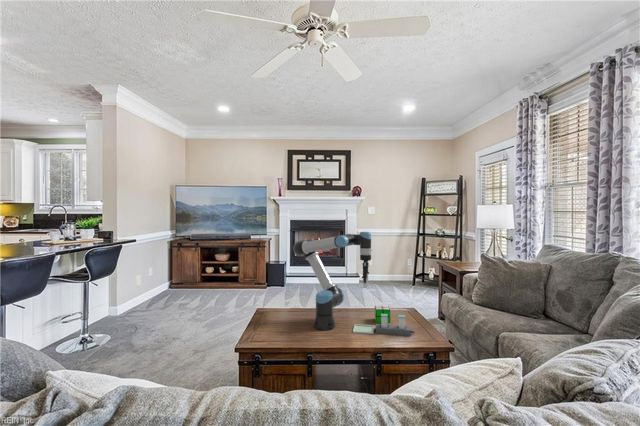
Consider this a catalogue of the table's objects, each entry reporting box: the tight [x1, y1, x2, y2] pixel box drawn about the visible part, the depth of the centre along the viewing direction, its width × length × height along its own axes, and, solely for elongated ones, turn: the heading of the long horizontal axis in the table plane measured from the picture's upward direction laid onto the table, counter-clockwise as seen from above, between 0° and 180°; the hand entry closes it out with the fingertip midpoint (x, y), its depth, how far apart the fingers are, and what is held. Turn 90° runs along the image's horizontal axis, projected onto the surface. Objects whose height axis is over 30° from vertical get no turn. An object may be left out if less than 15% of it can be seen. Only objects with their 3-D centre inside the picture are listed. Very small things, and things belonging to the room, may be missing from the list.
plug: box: [380, 314, 389, 328], centre depth 196 cm, size 4×4×11 cm
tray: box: [352, 323, 375, 335], centre depth 199 cm, size 13×13×1 cm
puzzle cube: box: [374, 304, 391, 324], centre depth 216 cm, size 10×10×10 cm
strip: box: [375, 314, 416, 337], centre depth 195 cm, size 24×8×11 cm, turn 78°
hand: (365, 285), depth 205 cm, fingers open, 13 cm apart
